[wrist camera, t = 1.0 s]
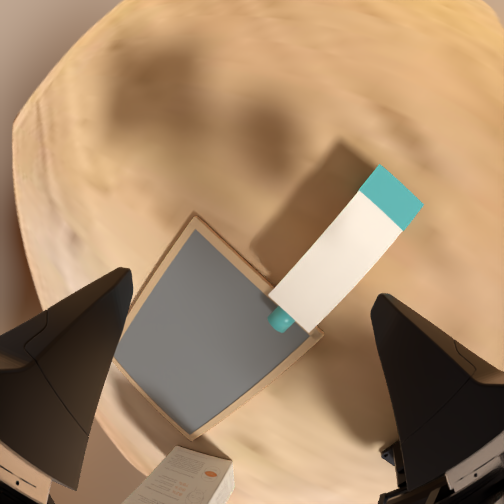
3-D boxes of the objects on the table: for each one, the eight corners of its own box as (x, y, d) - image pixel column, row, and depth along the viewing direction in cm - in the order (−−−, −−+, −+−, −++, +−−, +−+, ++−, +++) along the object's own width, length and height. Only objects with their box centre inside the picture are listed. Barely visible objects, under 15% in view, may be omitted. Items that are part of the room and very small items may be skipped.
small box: (182, 471, 29) (134, 528, 17) (176, 443, 29) (118, 503, 16) (236, 487, 27) (196, 555, 14) (234, 460, 26) (186, 536, 14)
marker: (409, 209, 20) (423, 204, 16) (298, 332, 23) (290, 351, 19) (372, 175, 21) (379, 163, 17) (263, 301, 24) (249, 314, 20)
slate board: (324, 332, 22) (323, 335, 22) (193, 438, 28) (191, 441, 27) (198, 216, 25) (194, 215, 25) (109, 350, 30) (105, 352, 30)
